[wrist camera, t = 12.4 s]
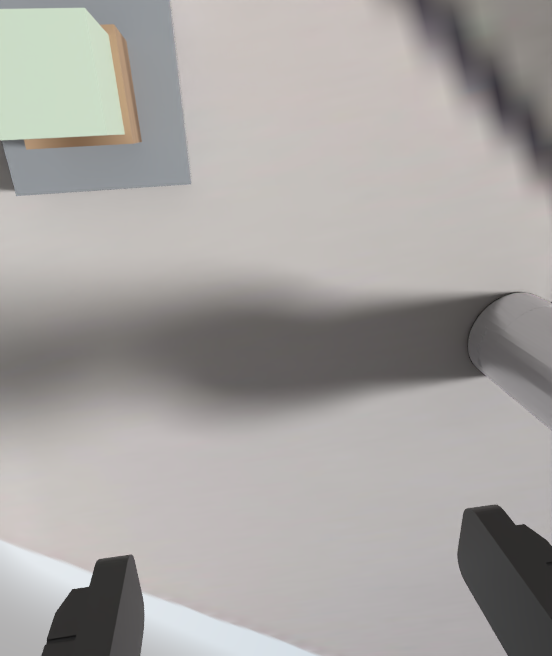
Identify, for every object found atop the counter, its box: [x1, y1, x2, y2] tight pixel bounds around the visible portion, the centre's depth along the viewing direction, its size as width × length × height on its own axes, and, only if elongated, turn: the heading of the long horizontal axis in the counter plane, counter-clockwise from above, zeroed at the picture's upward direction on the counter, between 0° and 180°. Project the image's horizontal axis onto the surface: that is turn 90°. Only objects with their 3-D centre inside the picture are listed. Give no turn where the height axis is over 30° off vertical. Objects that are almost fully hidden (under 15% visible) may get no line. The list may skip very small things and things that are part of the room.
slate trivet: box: [0, 0, 191, 196], centre depth 32 cm, size 12×12×3 cm
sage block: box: [0, 8, 125, 140], centre depth 23 cm, size 5×5×6 cm
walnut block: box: [24, 24, 142, 150], centre depth 28 cm, size 6×6×5 cm
